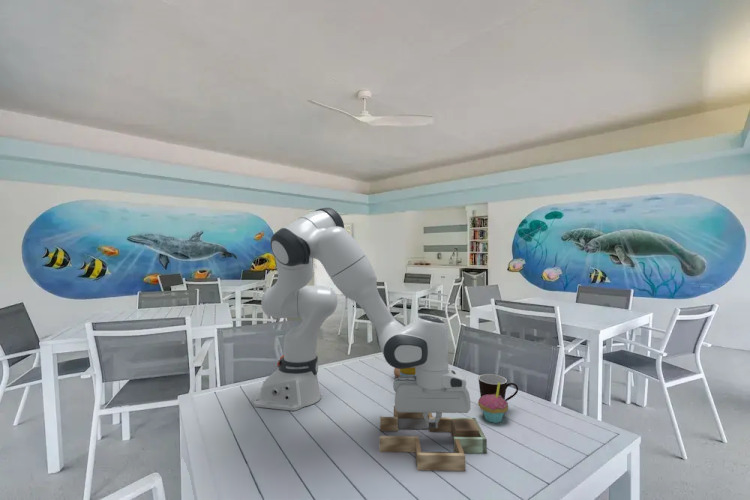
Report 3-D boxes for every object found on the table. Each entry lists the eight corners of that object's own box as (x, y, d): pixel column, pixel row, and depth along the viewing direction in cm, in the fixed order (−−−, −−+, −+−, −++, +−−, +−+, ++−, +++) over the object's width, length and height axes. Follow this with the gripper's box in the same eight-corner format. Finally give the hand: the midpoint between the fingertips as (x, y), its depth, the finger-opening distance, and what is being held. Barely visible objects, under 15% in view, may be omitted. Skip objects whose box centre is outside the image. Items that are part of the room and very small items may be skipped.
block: (455, 447, 88) (455, 430, 88) (451, 435, 94) (451, 418, 94) (479, 448, 88) (478, 430, 88) (473, 435, 94) (473, 419, 94)
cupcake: (507, 414, 105) (507, 376, 105) (508, 428, 97) (508, 386, 97) (478, 410, 108) (478, 373, 108) (477, 423, 100) (477, 382, 100)
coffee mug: (476, 413, 107) (475, 381, 107) (481, 402, 114) (481, 372, 114) (516, 421, 101) (515, 388, 101) (518, 409, 109) (518, 378, 109)
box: (378, 469, 79) (378, 454, 79) (380, 417, 104) (380, 405, 104) (495, 471, 79) (495, 456, 79) (469, 417, 104) (469, 406, 104)
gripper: (393, 380, 89) (393, 433, 89) (472, 381, 89) (472, 433, 89) (393, 371, 95) (393, 420, 96) (466, 372, 95) (466, 421, 95)
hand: (431, 427), depth 92 cm, fingers closed
